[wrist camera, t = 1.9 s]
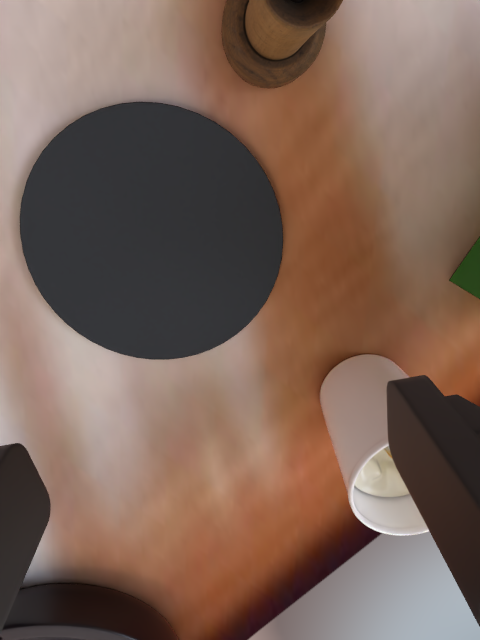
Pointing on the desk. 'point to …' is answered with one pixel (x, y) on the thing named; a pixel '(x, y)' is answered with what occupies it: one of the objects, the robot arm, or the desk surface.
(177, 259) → the disc
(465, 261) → the hardback book
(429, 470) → the robot arm
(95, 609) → the black round plastic slab
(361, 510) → the white cup
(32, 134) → the desk surface
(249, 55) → the brown wooden turned piece
